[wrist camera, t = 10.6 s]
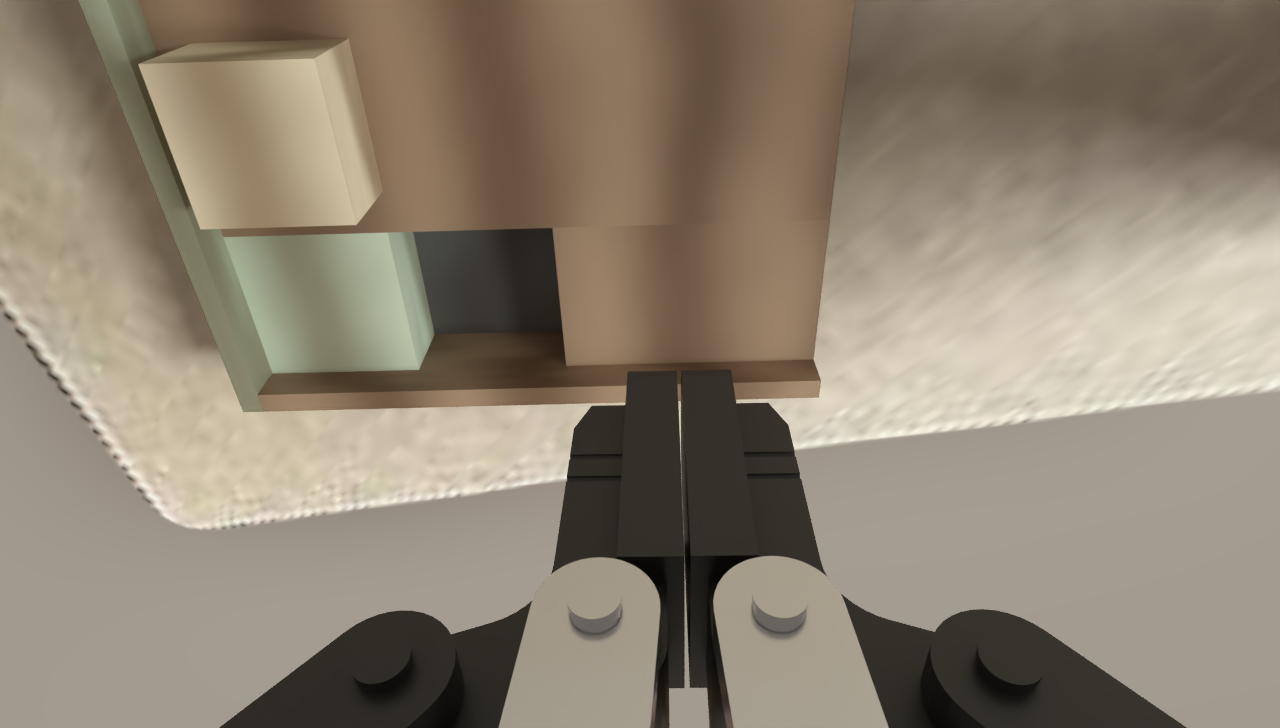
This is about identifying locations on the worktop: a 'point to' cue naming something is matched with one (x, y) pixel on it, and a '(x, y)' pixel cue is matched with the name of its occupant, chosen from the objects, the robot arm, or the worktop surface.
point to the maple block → (267, 132)
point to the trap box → (526, 198)
